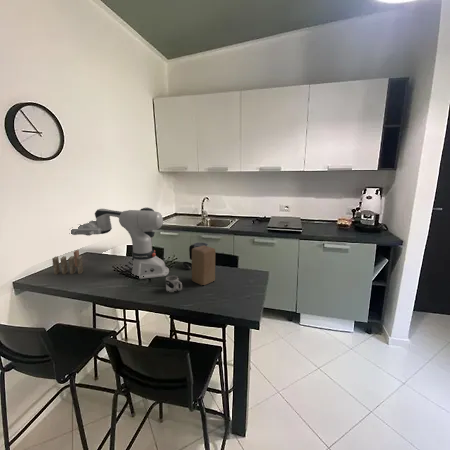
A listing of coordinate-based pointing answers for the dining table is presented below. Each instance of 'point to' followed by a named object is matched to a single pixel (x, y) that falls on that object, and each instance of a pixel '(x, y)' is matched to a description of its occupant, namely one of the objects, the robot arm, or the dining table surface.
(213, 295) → the dining table surface
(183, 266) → the milk frother
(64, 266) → the domino
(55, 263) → the domino
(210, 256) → the wooden block
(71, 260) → the domino
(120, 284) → the dining table surface
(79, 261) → the domino
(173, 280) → the mug
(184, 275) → the dining table surface
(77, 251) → the domino
